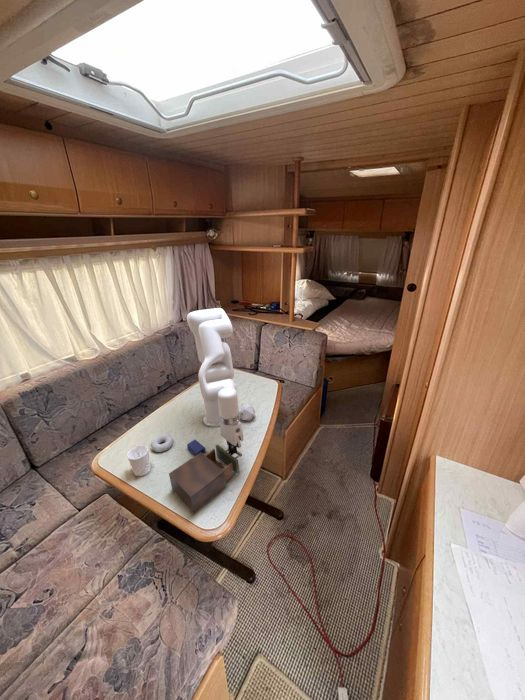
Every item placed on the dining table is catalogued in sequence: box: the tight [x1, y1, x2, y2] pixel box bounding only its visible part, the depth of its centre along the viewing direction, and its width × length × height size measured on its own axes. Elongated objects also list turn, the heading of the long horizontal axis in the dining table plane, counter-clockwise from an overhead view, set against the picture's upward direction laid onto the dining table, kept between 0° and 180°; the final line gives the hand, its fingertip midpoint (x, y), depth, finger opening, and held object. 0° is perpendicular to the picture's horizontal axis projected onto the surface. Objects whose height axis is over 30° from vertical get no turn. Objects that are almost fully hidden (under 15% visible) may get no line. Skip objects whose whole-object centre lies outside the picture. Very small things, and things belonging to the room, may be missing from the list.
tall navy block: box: [186, 439, 207, 457], centre depth 125 cm, size 8×4×3 cm, turn 46°
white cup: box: [126, 444, 152, 477], centre depth 115 cm, size 8×8×10 cm
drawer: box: [204, 444, 243, 482], centre depth 113 cm, size 18×14×7 cm
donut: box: [150, 434, 174, 453], centre depth 129 cm, size 10×3×10 cm
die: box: [238, 403, 256, 421], centre depth 145 cm, size 8×9×10 cm
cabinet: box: [168, 452, 226, 514], centre depth 105 cm, size 15×15×9 cm
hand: (233, 452), depth 116 cm, fingers closed
